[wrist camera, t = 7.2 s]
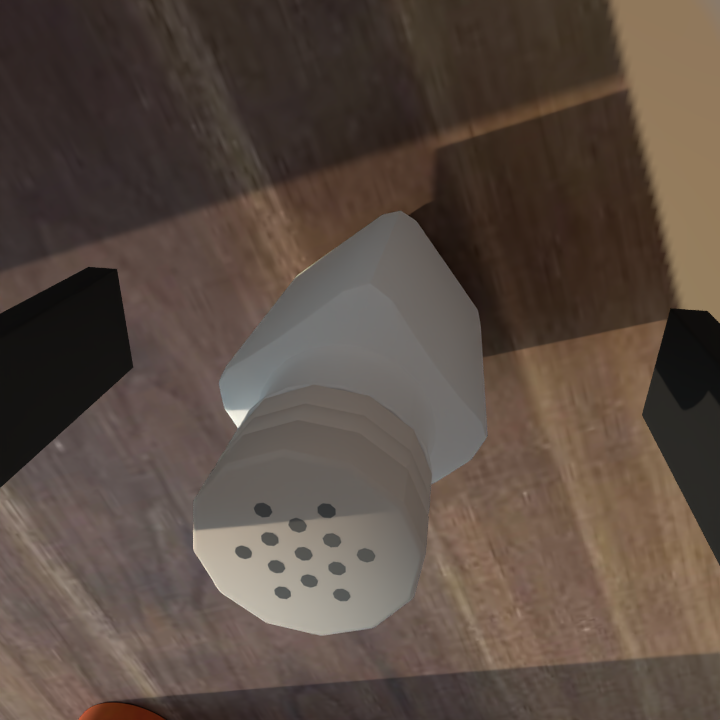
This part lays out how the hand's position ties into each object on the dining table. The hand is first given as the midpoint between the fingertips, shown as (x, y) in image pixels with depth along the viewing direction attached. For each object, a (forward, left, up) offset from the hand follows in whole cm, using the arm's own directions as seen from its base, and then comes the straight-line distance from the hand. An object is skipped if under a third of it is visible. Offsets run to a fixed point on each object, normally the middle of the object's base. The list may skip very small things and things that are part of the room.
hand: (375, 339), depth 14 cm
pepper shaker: (0, 0, -2) cm, 2 cm away
